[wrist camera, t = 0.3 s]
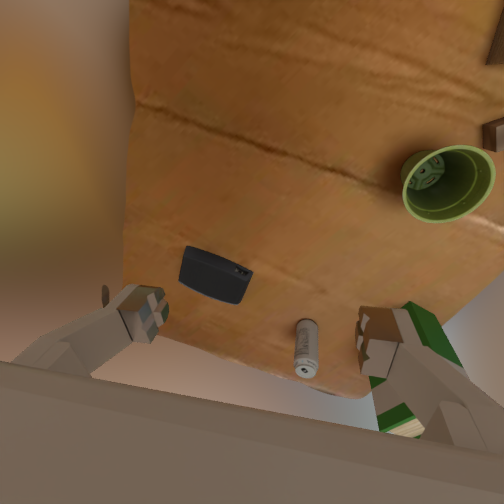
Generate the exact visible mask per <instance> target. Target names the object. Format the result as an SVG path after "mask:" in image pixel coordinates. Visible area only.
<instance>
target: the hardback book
mask: <svg viewBox="0 0 504 504" xmlns="http://www.w3.org/2000/svg"><path fill="white" fill-rule="evenodd" d="M400 309H406V310H407V311H408V313H409V315H410V318H411V320H412V322H413V324H414V327H415V329H416V331H417V334H418V336H419V338H420V340H421V343H422V345H423V346H428V347H429V348H430V349H431V350H433V351H434V352H435V353H436V354H438V355H439V356H440V357H441V358H443V359H444V360H445V361H446V362H448V363H449V364H450V365H451V366H452V367H454V368H455V369H456V370H457V371H459V372H460V373H461V374H462V375H464V376H465V377H466V378H467V379H469V377H468V375H467V374H466V371H465V370H464V368H463V366H462V364H461V362H460V360H459V358H458V357H457V355H456V353H455V351H454V349H453V347H452V346H451V344H450V342H449V340H448V339H447V336H446V335H445V333H444V331H443V329H442V327H441V325H440V324H439V322H438V320H437V318H436V316H435V315H434V314H432V313H431V312H429V311H427V310H425V309H423V308H422V307H420V306H418V305H416V304H415V303H413V302H411V301H409V302H408V303H407V304H406V305H404V306H403V307H402V308H400ZM369 379H370V384H371V390H372V395H373V400H374V405H375V410H376V415H377V421H378V426H379V431H380V432H384V433H385V432H387V431H390V432H392V433H394V434H396V435H400V436H406V437H411V438H416V439H419V438H420V437H421V435H422V433H423V431H424V430H425V428H424V427H423V425H422V424H421V423H420V422H419V420H418V419H417V418H416V416H415V415H414V414H413V413H412V411H411V410H410V409H409V408H408V406H407V405H406V404H405V402H404V401H403V400H402V399H401V397H400V396H399V395H398V394H397V392H396V391H395V390H394V388H393V387H392V386H391V385H390V383H389V382H388V381H387V379H386V378H381V377H375V376H369ZM469 380H470V379H469Z"/></svg>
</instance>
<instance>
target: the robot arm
mask: <svg viewBox="0 0 504 504" xmlns="http://www.w3.org/2000/svg"><path fill="white" fill-rule="evenodd" d="M164 296H165V293H164V290H163V288H160V287H153V286H145V285H134V284H130V285H127V286H126V287H125V288H124V289H123V290H122V291H121V292H120V293H119V294H118V295H117V296H116V297H115V298H114V299H113V300H112V301H111V302H110V303H109V304H108V305H107V306H106V307H105V308H100V309H98V310H96V311H94V312H92V313H90V314H87V315H85V316H83V317H81V318H79V319H77V320H75V321H72V322H70V323H68V324H66V325H64V326H62V327H60V328H58V329H55V330H53V331H51V332H49V333H47V334H45V335H43V336H40V337H39V338H38V339H37V340H36V341H34V342H33V343H32V344H31V345H30V346H29V347H27V348H26V349H25V350H24V351H23V352H22V353H21V354H20V355H19V356H17V357H16V358H15V359H14V360H13V361H11V363H9V362H3V361H0V504H504V408H503V407H502V406H500V405H499V404H498V403H497V402H496V401H494V400H493V399H492V398H491V397H490V396H488V395H487V394H486V393H485V392H483V391H482V390H481V389H480V388H478V387H477V386H476V385H475V384H473V383H472V382H471V381H470V380H469V379H467V378H466V377H465V376H464V375H462V374H461V373H460V372H459V371H457V370H456V369H455V368H454V367H452V366H451V365H450V364H449V363H448V362H446V361H445V360H444V359H443V358H441V357H440V356H439V355H438V354H436V353H435V352H434V351H433V350H431V349H430V348H429V347H428V346H423V345H422V343H421V340H420V338H419V336H418V334H417V331H416V329H415V327H414V324H413V322H412V320H411V318H410V315H409V313H408V311H407V310H406V309H397V308H382V307H370V306H360V308H359V313H358V314H359V321H357V322H356V328H355V342H356V347H357V349H358V350H359V355H358V361H359V366H360V372H361V374H363V375H369V376H375V377H381V378H386V379H387V381H388V382H389V383H390V385H391V386H392V387H393V388H394V390H395V391H396V392H397V394H398V395H399V396H400V397H401V399H402V400H403V401H404V402H405V404H406V405H407V406H408V408H409V409H410V410H411V411H412V413H413V414H414V415H415V416H416V418H417V419H418V420H419V422H420V423H421V424H422V425H423V427H424V428H425V430H424V431H423V433H422V435H421V437H420V438H419V439H416V438H411V437H406V436H400V435H395V434H389V433H384V432H378V431H373V430H368V429H362V428H357V427H352V426H347V425H341V424H336V423H330V422H325V421H320V420H314V419H309V418H304V417H298V416H293V415H288V414H282V413H276V412H271V411H266V410H260V409H255V408H250V407H244V406H239V405H234V404H228V403H223V402H218V401H212V400H207V399H202V398H196V397H191V396H185V395H179V394H175V393H169V392H164V391H159V390H153V389H148V388H142V387H137V386H132V385H127V384H121V383H116V382H111V381H105V380H100V379H94V378H92V376H91V375H90V373H91V372H93V371H94V370H96V369H97V368H98V367H100V366H101V365H103V364H104V363H105V362H106V361H108V360H109V359H111V358H112V357H113V356H115V355H116V354H118V353H119V352H120V351H122V350H123V349H125V348H126V347H127V346H129V345H130V344H131V343H132V342H141V343H149V344H150V343H151V342H152V341H153V339H154V338H155V336H156V335H157V333H158V332H159V330H158V327H159V326H161V325H162V324H164V323H165V321H166V319H167V317H168V314H169V305H168V302H167V301H166V300H165V299H164Z"/></svg>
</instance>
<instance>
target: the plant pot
mask: <svg viewBox="0 0 504 504" xmlns="http://www.w3.org/2000/svg"><path fill="white" fill-rule="evenodd" d="M433 156H434V157H435V158H436V159H437V160H438V161H439V163H436V161H435V160H434V159H433ZM422 169H424V170H425V172H424V173H420V171H421V170H422ZM495 175H496V172H495V166H494V163H493V161H492V159H491V158H490V156H489V155H488V154H487V153H486V152H484V151H483V150H481V149H479V148H477V147H474V146H469V145H453V146H448V147H444V148H442V149H439V150H425V151H420V152H418V153H416V154H414V155H412V156H411V157H409V158H408V159H407V160H406V162H405V163H404V165H403V166H402V169H401V174H400V177H401V181H402V184H403V192H402V197H403V202H404V205H405V207H406V209H407V211H408V212H409V213H410V214H411V215H412V216H413V217H415V218H417V219H419V220H421V221H424V222H428V223H445V222H450V221H454V220H457V219H459V218H462V217H464V216H465V215H467V214H469V213H471V212H472V211H473V210H475V209H476V208H477V207H478V206H480V205H481V204H482V203H483V201H484V200H485V199H486V198H487V196H488V195H489V193H490V192H491V190H492V188H493V185H494V181H495ZM434 176H435V177H434ZM433 177H434V178H435V179H434V180H433V181H431V182H430V183H428V184H426V182H427V181H429V180H431V179H432V178H433ZM409 180H410V181H411V182H412V184H409ZM421 186H422V187H421Z"/></svg>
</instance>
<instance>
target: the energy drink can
mask: <svg viewBox="0 0 504 504" xmlns="http://www.w3.org/2000/svg"><path fill="white" fill-rule="evenodd" d="M294 367H295V369H296V373H297V374H298V375H299V376H300V377H303V378H312V377H314V376H315V375H316V371H317V370H318V326H317V325H316V324H315V323H314V322H313V321H312V320H308V319H305V320H302V321H300V322H299V323H298V324H297V329H296V341H295V353H294Z"/></svg>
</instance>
